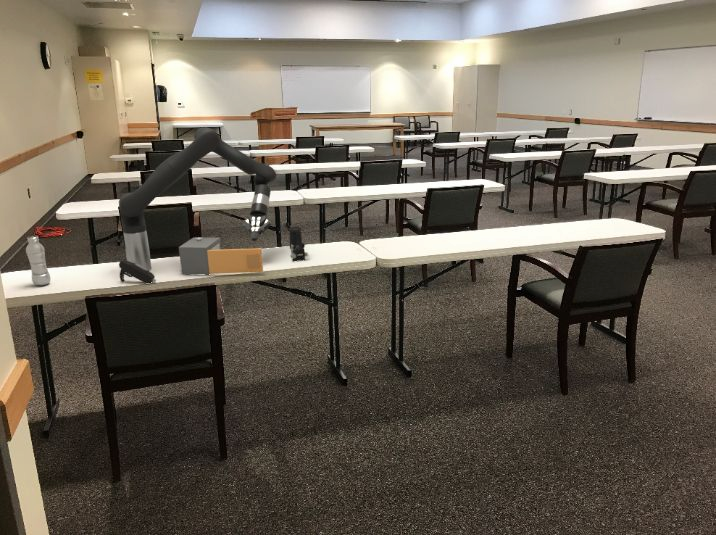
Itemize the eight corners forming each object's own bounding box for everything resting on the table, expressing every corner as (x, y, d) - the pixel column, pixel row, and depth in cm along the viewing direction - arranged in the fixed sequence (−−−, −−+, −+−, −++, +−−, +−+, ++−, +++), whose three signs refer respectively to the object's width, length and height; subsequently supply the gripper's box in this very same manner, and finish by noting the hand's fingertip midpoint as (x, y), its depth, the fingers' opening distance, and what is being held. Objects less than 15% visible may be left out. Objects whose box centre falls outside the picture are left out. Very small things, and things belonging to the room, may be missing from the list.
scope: (289, 232, 245) (283, 227, 254) (291, 262, 249) (285, 256, 258) (307, 230, 248) (301, 225, 257) (308, 259, 252) (302, 254, 261)
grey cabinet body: (178, 274, 235) (174, 245, 231) (193, 263, 250) (190, 235, 246) (209, 275, 234) (206, 245, 230) (222, 263, 249) (220, 235, 245)
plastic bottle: (44, 287, 222) (34, 239, 216) (29, 287, 223) (19, 238, 217) (55, 282, 228) (46, 234, 222) (40, 281, 229) (30, 234, 223)
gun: (147, 297, 226) (155, 276, 223) (113, 278, 227) (120, 257, 223) (151, 294, 229) (159, 274, 225) (117, 275, 229) (124, 255, 226)
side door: (210, 273, 233) (207, 250, 230) (263, 271, 234) (261, 248, 231) (209, 274, 232) (206, 251, 229) (262, 272, 233) (261, 249, 230)
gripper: (243, 201, 247) (236, 235, 240) (272, 202, 246) (266, 236, 238) (248, 211, 254) (241, 244, 246) (276, 211, 252) (270, 244, 245)
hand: (253, 240), depth 242 cm, fingers closed
